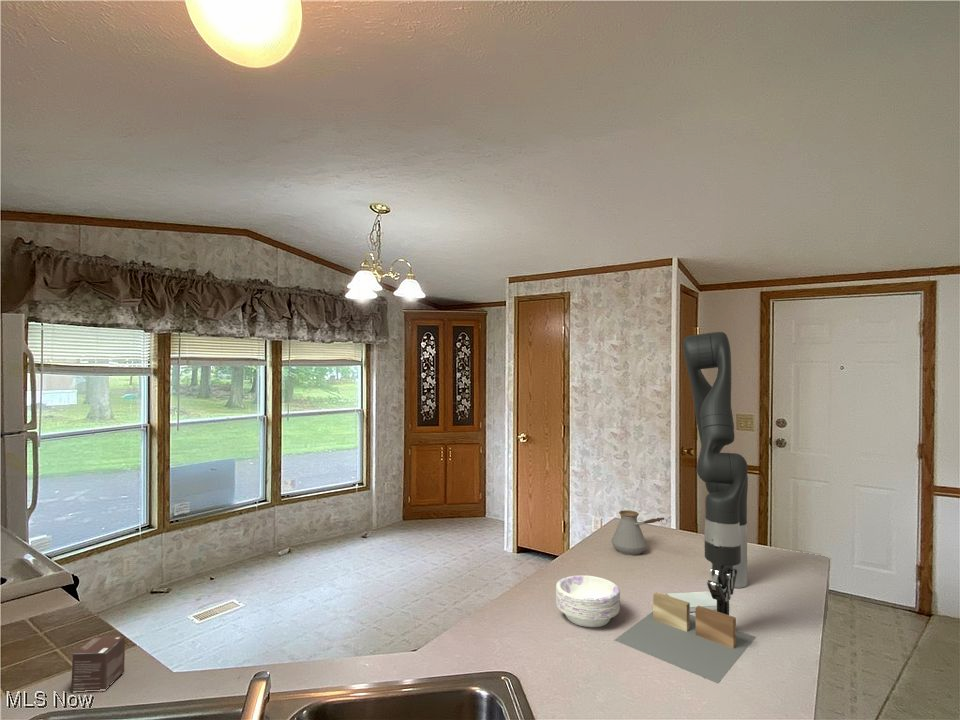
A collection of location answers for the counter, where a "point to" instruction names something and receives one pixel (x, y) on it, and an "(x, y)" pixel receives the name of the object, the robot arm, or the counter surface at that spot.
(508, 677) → the counter surface
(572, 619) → the paper bowls
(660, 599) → the pale oak slab
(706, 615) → the walnut slab
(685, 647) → the rubber mat
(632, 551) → the coffee pot
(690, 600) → the hard drive
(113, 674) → the box
